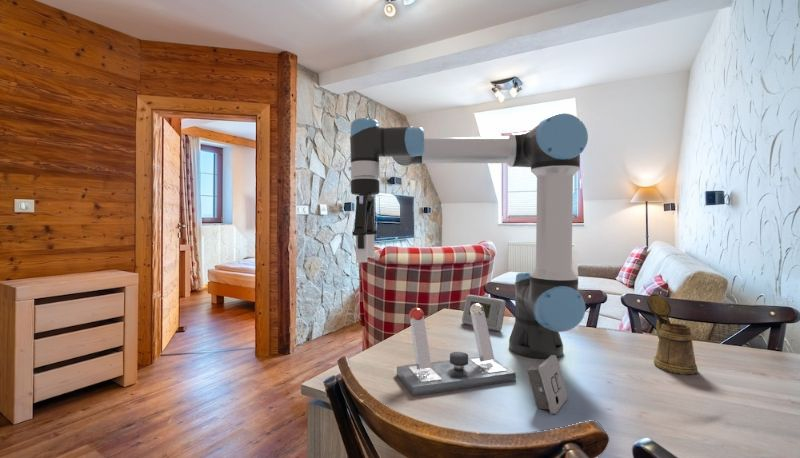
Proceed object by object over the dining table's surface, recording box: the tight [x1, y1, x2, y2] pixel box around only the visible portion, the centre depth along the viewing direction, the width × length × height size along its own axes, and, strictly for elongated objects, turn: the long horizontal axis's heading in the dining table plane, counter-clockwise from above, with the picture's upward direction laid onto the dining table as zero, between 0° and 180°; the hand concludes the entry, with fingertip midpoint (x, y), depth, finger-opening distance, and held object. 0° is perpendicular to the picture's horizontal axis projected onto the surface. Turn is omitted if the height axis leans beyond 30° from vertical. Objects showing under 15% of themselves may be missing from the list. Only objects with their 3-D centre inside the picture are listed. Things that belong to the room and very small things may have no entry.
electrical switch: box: [526, 355, 568, 415], centre depth 78 cm, size 9×5×9 cm, turn 141°
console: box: [396, 356, 517, 397], centre depth 90 cm, size 26×12×4 cm, turn 108°
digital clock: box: [461, 294, 507, 332], centre depth 135 cm, size 16×9×11 cm, turn 35°
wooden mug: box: [646, 292, 699, 375], centre depth 99 cm, size 9×14×18 cm, turn 0°
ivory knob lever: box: [470, 303, 495, 362], centre depth 96 cm, size 4×4×14 cm
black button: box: [449, 351, 469, 366], centre depth 91 cm, size 4×4×2 cm
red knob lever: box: [408, 307, 432, 370], centre depth 91 cm, size 4×4×14 cm
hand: (365, 259), depth 98 cm, fingers open, 13 cm apart
